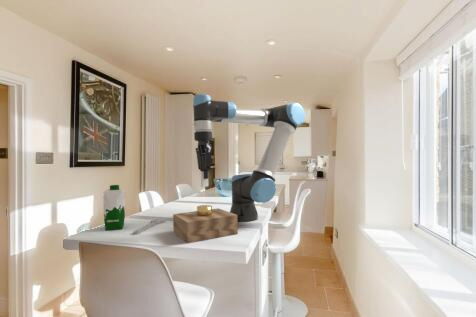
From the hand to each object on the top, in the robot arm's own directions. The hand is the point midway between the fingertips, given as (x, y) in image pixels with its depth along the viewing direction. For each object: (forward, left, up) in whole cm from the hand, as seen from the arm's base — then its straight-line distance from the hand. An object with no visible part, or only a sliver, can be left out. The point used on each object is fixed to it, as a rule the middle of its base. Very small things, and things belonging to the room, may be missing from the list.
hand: (204, 186), depth 119 cm
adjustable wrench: (+18, -25, -21) cm, 38 cm away
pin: (0, 0, -20) cm, 20 cm away
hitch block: (0, 0, -20) cm, 20 cm away
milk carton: (+32, -32, -20) cm, 50 cm away
